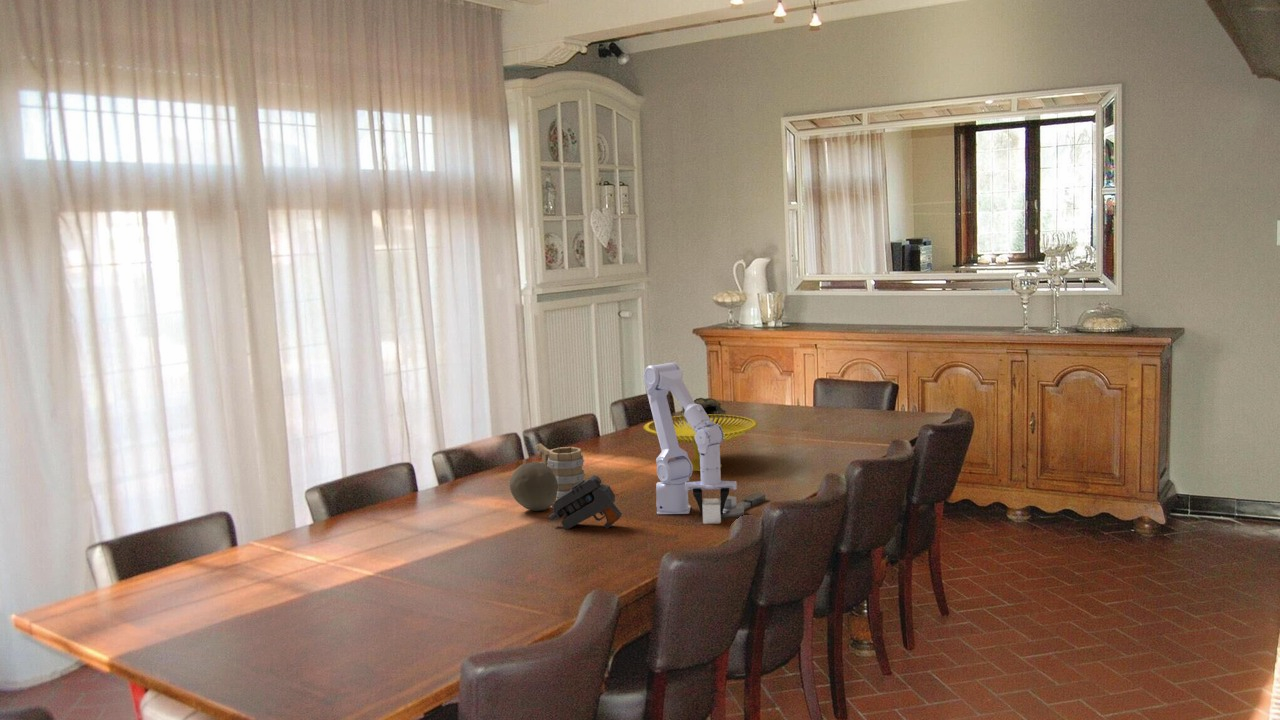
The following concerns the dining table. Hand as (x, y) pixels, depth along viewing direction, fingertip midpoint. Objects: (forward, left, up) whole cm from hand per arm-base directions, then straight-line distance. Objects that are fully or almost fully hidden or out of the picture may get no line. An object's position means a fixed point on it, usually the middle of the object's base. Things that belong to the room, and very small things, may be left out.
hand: (711, 514), depth 294 cm
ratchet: (+8, +13, -2) cm, 16 cm away
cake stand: (-6, +68, -2) cm, 68 cm away
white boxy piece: (0, 0, -2) cm, 2 cm away
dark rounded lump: (-8, +131, -2) cm, 131 cm away
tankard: (-51, +37, -2) cm, 63 cm away
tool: (-36, -4, -2) cm, 36 cm away
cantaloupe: (-54, +13, -2) cm, 56 cm away
